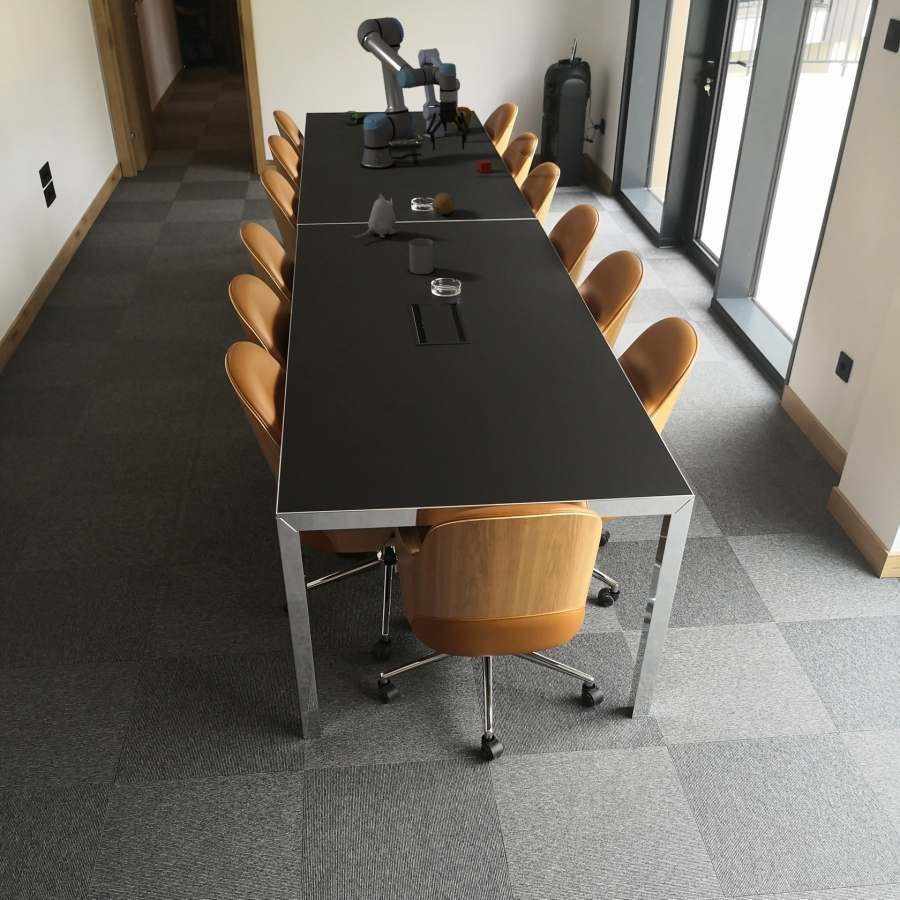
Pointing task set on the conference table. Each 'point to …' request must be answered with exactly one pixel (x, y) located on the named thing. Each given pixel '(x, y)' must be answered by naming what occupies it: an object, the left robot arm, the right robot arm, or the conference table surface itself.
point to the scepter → (355, 117)
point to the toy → (381, 218)
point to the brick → (484, 166)
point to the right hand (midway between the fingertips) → (452, 130)
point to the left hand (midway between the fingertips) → (448, 149)
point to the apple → (467, 117)
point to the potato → (443, 203)
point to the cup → (421, 256)
